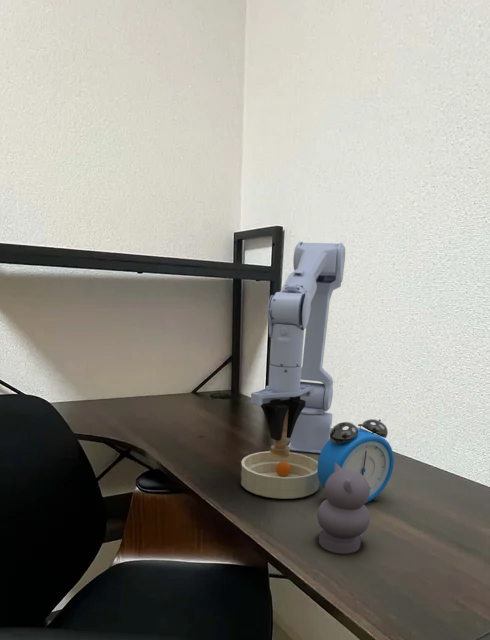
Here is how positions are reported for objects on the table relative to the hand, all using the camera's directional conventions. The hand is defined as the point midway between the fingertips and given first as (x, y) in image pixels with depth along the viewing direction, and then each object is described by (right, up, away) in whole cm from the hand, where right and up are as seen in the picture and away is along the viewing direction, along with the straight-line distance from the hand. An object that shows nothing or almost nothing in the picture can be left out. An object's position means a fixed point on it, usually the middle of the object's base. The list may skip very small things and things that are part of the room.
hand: (280, 438), depth 98 cm
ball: (+1, -6, +6) cm, 8 cm away
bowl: (0, -9, +3) cm, 10 cm away
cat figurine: (+8, -19, -18) cm, 27 cm away
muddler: (0, -3, +1) cm, 3 cm away
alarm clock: (+13, -12, -2) cm, 18 cm away
